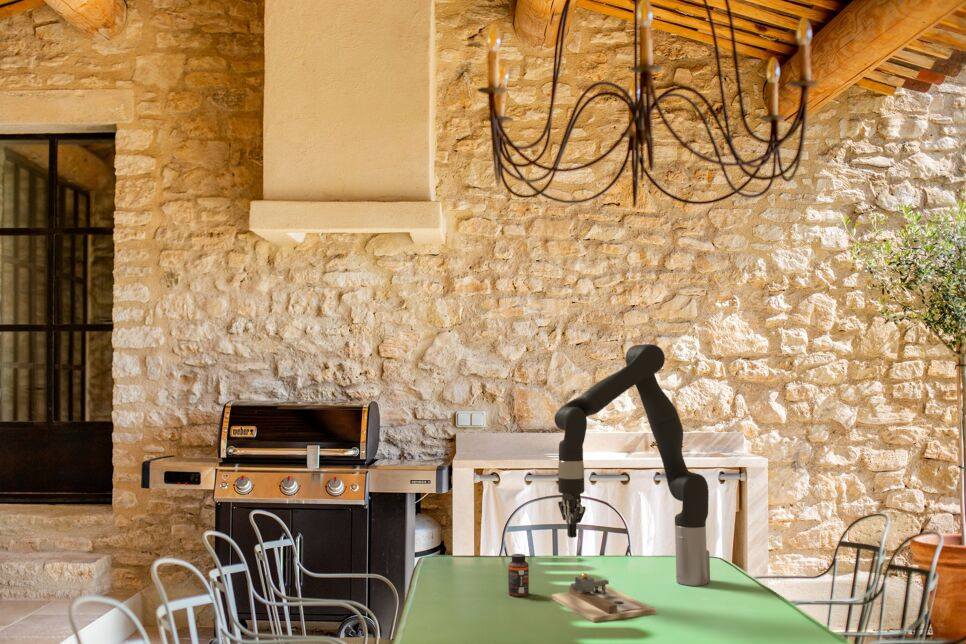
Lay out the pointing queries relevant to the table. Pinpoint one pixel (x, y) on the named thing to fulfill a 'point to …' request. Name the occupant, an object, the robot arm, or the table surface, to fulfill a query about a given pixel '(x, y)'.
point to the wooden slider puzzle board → (602, 604)
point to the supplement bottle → (518, 576)
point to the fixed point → (594, 586)
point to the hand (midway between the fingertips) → (571, 536)
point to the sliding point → (589, 584)
